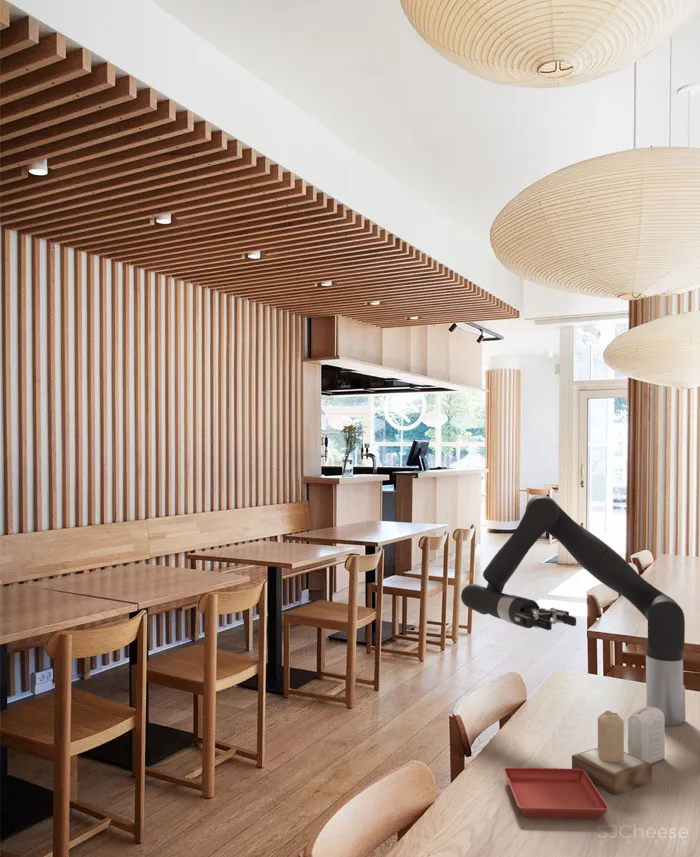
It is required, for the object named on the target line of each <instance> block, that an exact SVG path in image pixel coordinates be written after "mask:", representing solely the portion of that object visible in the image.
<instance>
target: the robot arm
mask: <svg viewBox="0 0 700 857" xmlns="http://www.w3.org/2000/svg"><path fill="white" fill-rule="evenodd" d="M545 533H547V534H548V535H550V536H552V537H553V538H554V539H556V541H558V542H559V543H560V544H561V545H562V546H563V547H564V548H565V550H566V551H567V552H568V553H569V554H570V555H571V556H572V557H573V559H574V560H576V562H577V563H578V564H579V565H580V567H582V568H583V569H585V571H587V572H588V573H589V574H591V576H592V577H594V578H595V579H596V580H598V581H599V582H600V583H602V584H603V585H605V586H606V587H608V588H609V589H611V590H613V591H615V592H616V593H618V594H620V595H621V596H622V597H624V598H625V599H626V600H628V601H629V602H630V603H631V604H632V605H633V606H634V607H635V608H636V609H637V610H638V611H639V612H640V614H641V615H642V616H644V617H645V619H646V620H647V641H646V645H645V669H646V670H645V672H646V673H645V675H646V678H645V679H646V681H645V682H646V684H645V685H646V688H645V692H646V698H645V700H646V704H645V705H646V706H645V707H655V708H658V709H660V710H661V711H662V712H663V714H664V717H665V726H666V727H667V726H668V727H675V726H677V727H678V726H680V725H683V724H684V721H686V685H684V658H683V657H684V650H685V639H686V638H685V634H686V633H685V631H686V630H685V627H686V625H685V624H686V623H685V621H686V619H685V613H684V611H683V609H682V607H681V606H680V605H679V604H678V602H676V600H674V598H672V597H670V596H669V595H667V594H665V593H664V592H662V591H661V590H660V589H658V588H656V587H655V586H654V585H652V584H651V583H649V582H648V581H646V580H645V579H644V578H643V577H642V576H641V575H640V574H639V573H638V572H637V571H636V570H635V569H634V568H633V567H632V566H631V565H630V564H629V562H627V561H626V560H625V558H623V557H622V556H621V554H619V553H618V552H616V551H615V549H613V548H612V547H610V546H609V545H608V544H607V543H605V542H604V541H603V540H601V539H600V538H599V537H597V536H596V535H595V534H593V533H592V532H590V531H589V530H588V529H586V528H584V527H583V526H582V525H580V524H578V523H577V522H576V521H575V520H574V519H573V518H571V517H570V516H569V515H568V514H567V512H565V510H564V509H562V508H561V507H560V505H559V504H557V502H556V501H555V500H554V499H553V498H552V497H550V496H549V495H545V494H539V495H535V496H533V497H532V498H530V499H529V500H528V502H527V504H526V505H525V511H524V513H523V516H522V518H521V520H520V522H519V524H518V525H517V528H516V529H515V530H514V532H513V534H512V535H510V537H509V539H508V540H507V541H506V542H505V543H504V544H503V545H502V547H501V548H500V549H499V550H498V551H497V553H496V554H495V555H494V556H493V557H492V558H491V561H490V562H489V563H488V565H487V566H486V567H485V569H484V571H483V572H482V577H483V579H484V580H485V581H486V582H487V586H482V585H480V584H476V583H470V584H468V585H465V587H463V589H462V590H461V593H460V598H461V602H462V603H463V605H464V606H465V607H466V608H468V609H470V610H473V611H475V612H477V613H478V614H481V615H490V616H492V617H494V618H497V619H500V620H503V621H506V622H507V623H510V624H513V625H516V626H518V627H522V628H525V629H532V628H535V629H538V628H540V629H543V630H546V631H551V630H553V629H552V628H553V626H552V625H556V624H559V623H560V624H563V625H564V624H565V625H569V626H572V627H575V626H577V617H576V616H573V615H570V612H569V611H567V610H563V609H559V608H554V607H550V608H549V609H547V608H545V607H540V606H539V604H538V603H537V602H536V601H535V600H533V599H530V598H526V597H522V596H519V595H514V594H508V593H505V592H503V591H504V587H505V586H506V584H507V583H508V581H509V580H510V578H511V577H512V576H513V574H514V573H515V572H516V570H517V569H518V567H519V566H520V565H521V563H522V561H523V560H524V558H525V557H526V555H527V554H528V552H529V551H530V550H531V548H532V547H533V546H534V545H535V543H537V541H538V540H539V539H540V538H541V537H542V536H543V535H544V534H545ZM551 619H553V620H551Z"/></svg>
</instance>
